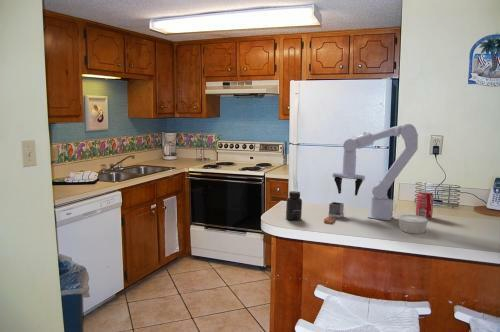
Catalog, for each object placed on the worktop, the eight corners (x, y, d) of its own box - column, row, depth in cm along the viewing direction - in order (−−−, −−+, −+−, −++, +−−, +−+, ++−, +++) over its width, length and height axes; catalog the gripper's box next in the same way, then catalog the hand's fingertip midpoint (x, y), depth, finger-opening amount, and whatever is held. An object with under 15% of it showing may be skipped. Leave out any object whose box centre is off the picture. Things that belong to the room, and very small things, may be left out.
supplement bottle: (296, 221, 178) (297, 194, 177) (282, 219, 182) (283, 192, 181) (304, 218, 184) (305, 192, 182) (291, 215, 188) (292, 189, 186)
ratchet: (330, 213, 193) (331, 204, 192) (345, 215, 190) (346, 206, 189) (319, 222, 179) (319, 211, 178) (335, 224, 175) (335, 214, 175)
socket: (343, 213, 189) (343, 203, 188) (339, 215, 185) (340, 205, 184) (332, 211, 191) (333, 201, 191) (328, 213, 187) (329, 203, 187)
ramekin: (400, 234, 164) (401, 221, 163) (394, 226, 175) (395, 213, 174) (430, 235, 163) (431, 222, 162) (422, 227, 173) (423, 215, 173)
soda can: (429, 215, 193) (431, 190, 191) (434, 219, 186) (436, 193, 184) (413, 215, 194) (415, 189, 192) (418, 219, 187) (420, 192, 185)
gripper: (331, 164, 190) (329, 193, 192) (363, 167, 183) (361, 197, 185) (335, 163, 196) (334, 191, 198) (366, 165, 189) (365, 194, 191)
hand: (347, 194), depth 192 cm, fingers open, 7 cm apart
